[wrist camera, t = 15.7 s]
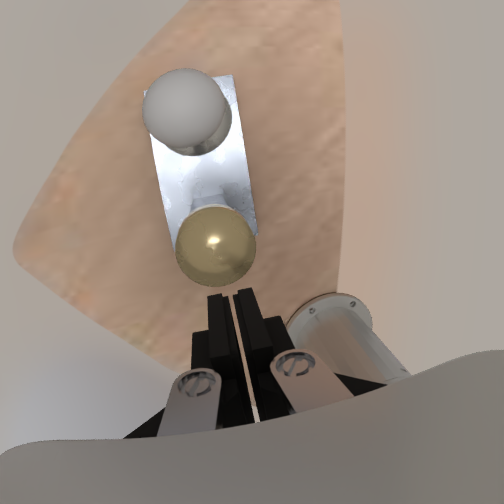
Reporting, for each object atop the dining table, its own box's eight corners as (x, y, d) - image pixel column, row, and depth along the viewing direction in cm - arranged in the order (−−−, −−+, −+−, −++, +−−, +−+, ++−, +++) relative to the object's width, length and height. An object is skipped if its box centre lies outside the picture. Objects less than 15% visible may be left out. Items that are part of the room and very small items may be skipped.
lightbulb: (220, 89, 28) (229, 59, 18) (218, 148, 30) (226, 147, 20) (158, 90, 27) (137, 61, 17) (156, 149, 29) (133, 149, 19)
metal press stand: (256, 231, 35) (282, 270, 24) (175, 247, 34) (163, 294, 23) (231, 77, 29) (247, 40, 18) (145, 93, 29) (117, 64, 17)
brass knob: (247, 248, 27) (261, 278, 21) (188, 260, 26) (185, 293, 20) (237, 189, 25) (249, 202, 19) (175, 201, 25) (167, 218, 18)
